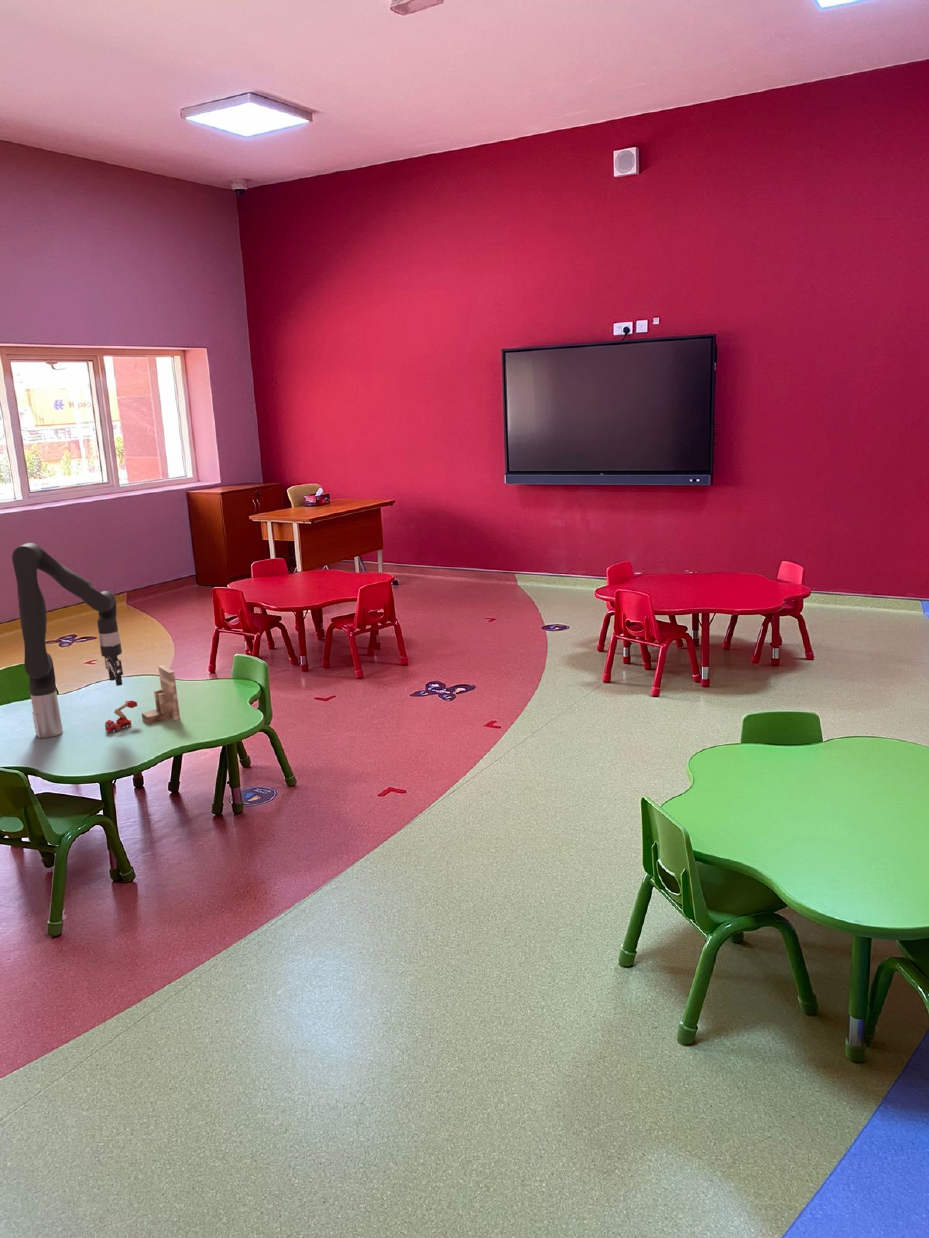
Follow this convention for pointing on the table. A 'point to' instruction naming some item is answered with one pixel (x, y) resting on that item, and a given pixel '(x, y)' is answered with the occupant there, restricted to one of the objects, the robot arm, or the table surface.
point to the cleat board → (164, 699)
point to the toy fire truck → (122, 721)
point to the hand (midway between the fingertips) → (116, 682)
